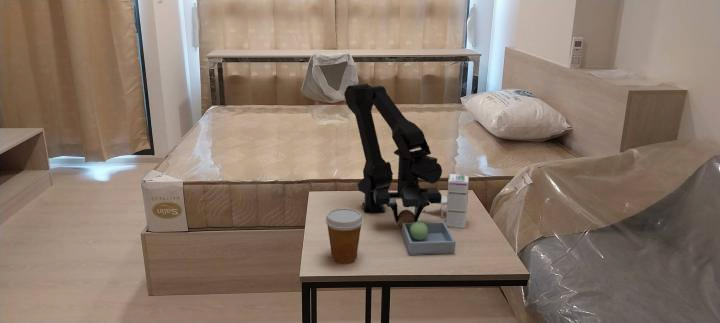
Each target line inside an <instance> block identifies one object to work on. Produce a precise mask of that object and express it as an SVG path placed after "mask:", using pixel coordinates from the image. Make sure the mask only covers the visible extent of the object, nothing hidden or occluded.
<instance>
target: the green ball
mask: <svg viewBox="0 0 720 323" xmlns="http://www.w3.org/2000/svg"><path fill="white" fill-rule="evenodd" d="M410 234H411V236H412V237H413V238H414V239H416V240H422V239H424V238H425V237H426V236H427V234H428V228H427V226H426V224H424V223H423V221H417V222H415V223H413V224H412V225H411V227H410Z"/></svg>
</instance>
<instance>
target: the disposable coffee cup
mask: <svg viewBox="0 0 720 323" xmlns="http://www.w3.org/2000/svg"><path fill="white" fill-rule="evenodd" d="M324 220H325V223H326V225H327V231H328V238H329V245H330V254H331V258H332V260H333V261H334V262H335V263H337V264H350V263H353V262H354V261H356V259H357V255H358V249H359V243H360V236H361V235H360V234H361V229H362V228H361V227H362V225H363V223H364V217H363V215H362V213H361V212H360V211H358V210H357V209H354V208H350V207H349V208H348V207H347V208H346V207H342V208H341V207H339V208H335V209H332V210H329V212H328V213H327V214H326V217H325V219H324Z"/></svg>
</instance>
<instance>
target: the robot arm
mask: <svg viewBox="0 0 720 323" xmlns="http://www.w3.org/2000/svg"><path fill="white" fill-rule="evenodd" d="M343 95H344V100H345V102H346V105H347V108H348V109H349V110H350V111H351V112H352V113H353V115H355V116H354V117H355V119H356V120H355V121H356V125H357V129H358V133H359V137H360V138H359V139H360V140H361V145H362V149H363V154H364V158H365V159H364V160H365V163H364V167H363V170H362V174H363V178H362V179H361V180H360V181H359V182H358V183H357V188H358V191H359V192H360V193H363V194H364V202H362V203H361V204H362V208H363V213H385V212H386V210H385V208H386V207H389V208H390V209H391V211H392V214H393V217H394V220H395V224H397V225H398V224H399V222H398V215H399V213H398V212H399V210H398V205H399V204H398V203H397V200H401V201H402V206H403V207H404V208H414V212H413V214H414V216H415V221H414V223H415V222H418V220H419V218H420V215H421V213H422V212H423V208H424V209H425V208H426V207H428V206H430V204H436V203H441V199H442V196H443V195H442V194H441V192H440V190H439V189H438V187H436V186H435V187H431V186H430V187H424V188H422V187H420V184H419V183H420V181H419V180H422V181H424V182H426V183H428V184H431V185H433V184H436V183H437V182H438V181H440V179H441V177H442V173H443V169H442V166H441V164H440V163H438V158H437V157H434V156H433V157H432V156H429V155H431V154H432V153H431V152H432V151H431V149H430V146H429V144H428V142H427V139H426V137H425V133H424V132H423V130H422V129H421V128H420V127H419V126H418V125H417V124H416V123H414V122H413V121H410V120H409V119H407V118H406V117H405V115H403V113H402V111H401V110H400V108H398V106H397V105H396V104H395V102H394V101H393V99H392V98H391V97H390V96H389V94H388V93H387V90H386V88H385V87H384V86H382V85H375V86H373V85H372V86H371V85H369V84H368V83H359V84H352V85H351V84H350V85H348V86H347V87H346V88H345V91H344V94H343ZM373 107H375V109H376V110H377V111H378V112H379V114H380V116H381V117H382V119H384V121H385V122H386V124H387V125H388V126H389V128H390V130H391V138H392V141H393V142H394V144H395V145H396V148H397V149H396V150H394V151H393V154H394V155H396V156H398V167H397V168H398V169H397V171H398V172H397V191H396V192H395V191H393V192H391V191H389V190H390V187H391V185H392V182H393V178H394V177H393V175H394V173H393V171H392V165H391V163H390V161H385V159H384V158H383V156H382V153H381V148H380V144H379V139H378V135H377V130H376V127H375V126H376V125H375V122H374V118H373V117H374V116H373V114H372V110H373ZM385 206H386V207H385Z"/></svg>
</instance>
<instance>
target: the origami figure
mask: <svg viewBox="0 0 720 323" xmlns="http://www.w3.org/2000/svg"><path fill="white" fill-rule="evenodd" d="M441 196H442V199H441V203H435V204H438V205H440V210H441V211H440V217H441V218H444V213H445V205H446V206H447V196H446V195H441ZM422 212H426V209H425V207H424V208H423V210H422Z"/></svg>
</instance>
